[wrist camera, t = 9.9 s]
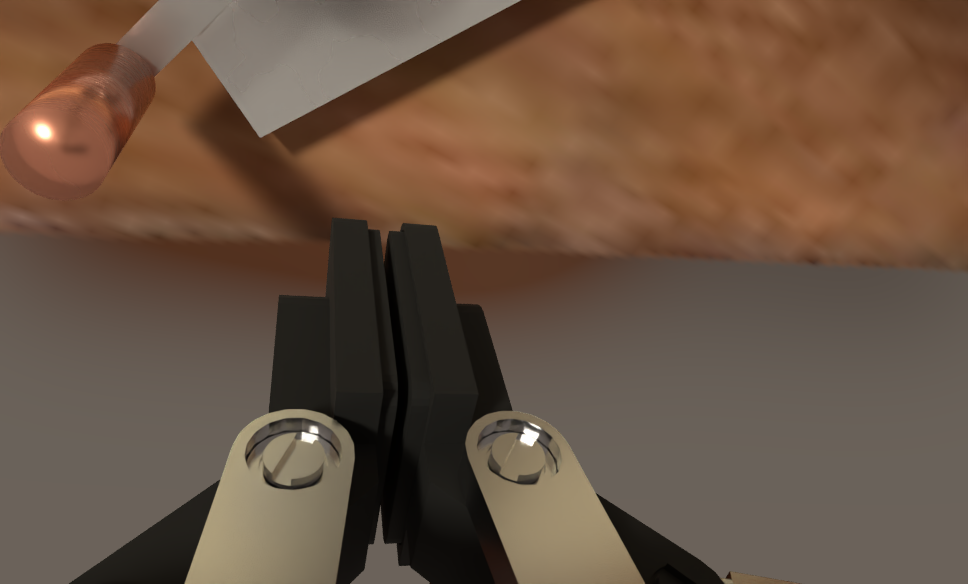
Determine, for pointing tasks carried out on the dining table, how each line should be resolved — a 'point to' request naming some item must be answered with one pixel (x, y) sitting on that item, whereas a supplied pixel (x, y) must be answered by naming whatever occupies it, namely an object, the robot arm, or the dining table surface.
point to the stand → (322, 47)
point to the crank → (98, 103)
